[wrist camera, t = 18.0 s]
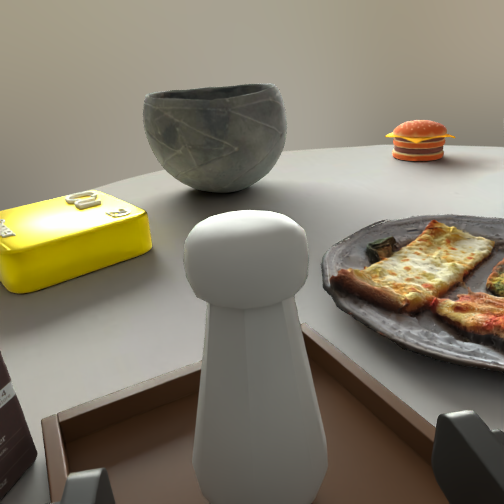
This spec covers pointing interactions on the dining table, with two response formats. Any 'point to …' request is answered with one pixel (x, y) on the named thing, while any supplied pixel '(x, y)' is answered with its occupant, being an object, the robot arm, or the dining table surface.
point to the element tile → (68, 239)
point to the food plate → (426, 285)
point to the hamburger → (419, 140)
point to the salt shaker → (254, 363)
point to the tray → (183, 433)
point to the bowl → (217, 134)
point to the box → (12, 435)
